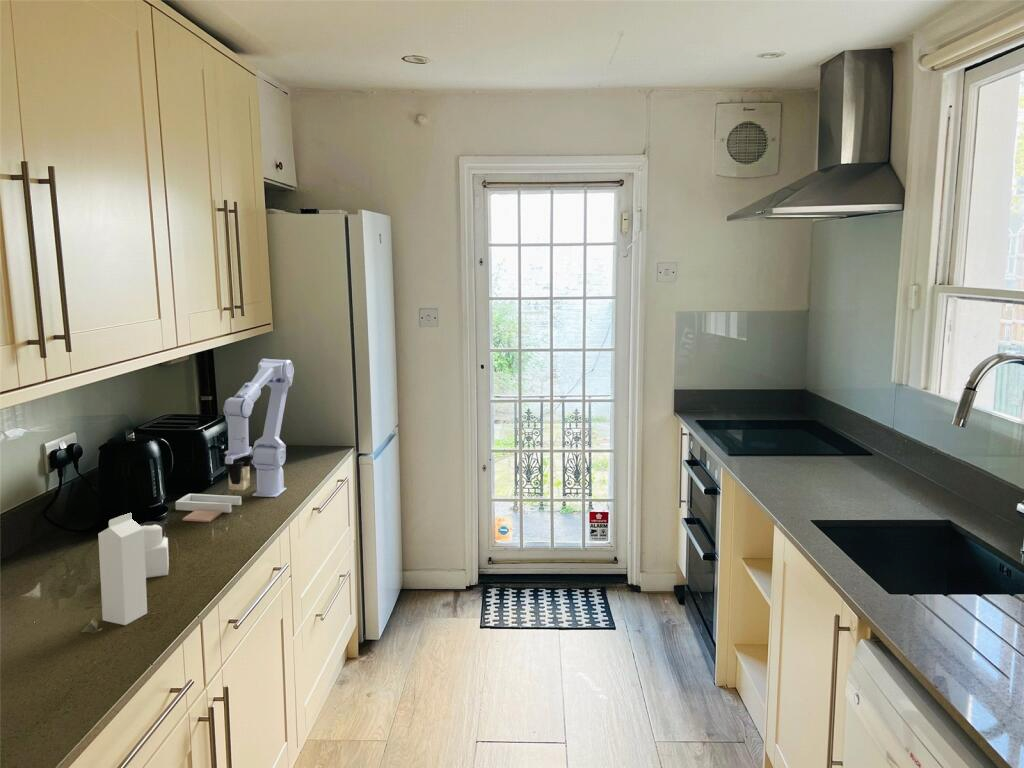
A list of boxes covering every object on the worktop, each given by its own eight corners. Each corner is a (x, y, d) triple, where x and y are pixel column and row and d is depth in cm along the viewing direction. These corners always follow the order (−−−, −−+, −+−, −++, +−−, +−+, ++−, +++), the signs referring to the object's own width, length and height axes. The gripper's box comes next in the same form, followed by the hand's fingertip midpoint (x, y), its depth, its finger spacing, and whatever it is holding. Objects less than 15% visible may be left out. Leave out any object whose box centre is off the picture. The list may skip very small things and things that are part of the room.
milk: (102, 620, 155) (96, 518, 152) (125, 608, 161) (120, 509, 157) (125, 625, 153) (119, 522, 150) (148, 613, 159) (143, 513, 156)
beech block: (235, 485, 228) (234, 465, 227) (249, 485, 228) (249, 466, 227) (228, 489, 224) (228, 469, 223) (243, 490, 223) (243, 470, 223)
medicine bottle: (136, 568, 182) (134, 520, 180) (168, 564, 185) (167, 517, 183) (134, 579, 175) (132, 530, 174) (168, 575, 178) (166, 527, 176)
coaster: (196, 511, 224) (195, 509, 224) (222, 513, 224) (221, 511, 224) (182, 520, 216) (182, 518, 216) (209, 521, 216) (209, 519, 216)
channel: (189, 501, 234) (189, 493, 233) (241, 504, 233) (241, 496, 232) (175, 509, 225) (175, 501, 225) (229, 512, 224) (229, 504, 224)
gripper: (235, 431, 231) (236, 474, 233) (214, 442, 217) (215, 487, 219) (258, 432, 231) (258, 475, 233) (238, 443, 216) (239, 488, 218)
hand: (239, 481), depth 226 cm, fingers closed on beech block, 4 cm apart
